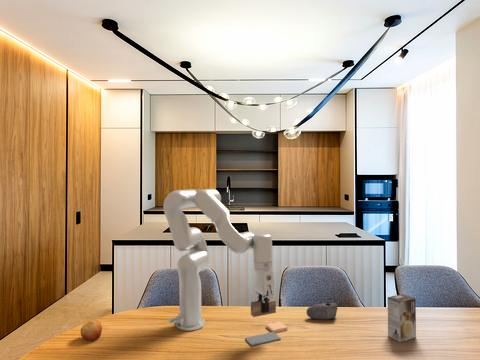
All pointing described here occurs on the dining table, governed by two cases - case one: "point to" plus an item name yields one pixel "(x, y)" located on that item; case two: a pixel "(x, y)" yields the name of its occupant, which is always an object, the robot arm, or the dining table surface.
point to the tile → (276, 327)
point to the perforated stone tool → (322, 311)
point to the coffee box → (401, 317)
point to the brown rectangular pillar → (257, 308)
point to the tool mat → (262, 338)
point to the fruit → (91, 330)
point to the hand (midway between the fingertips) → (263, 310)
